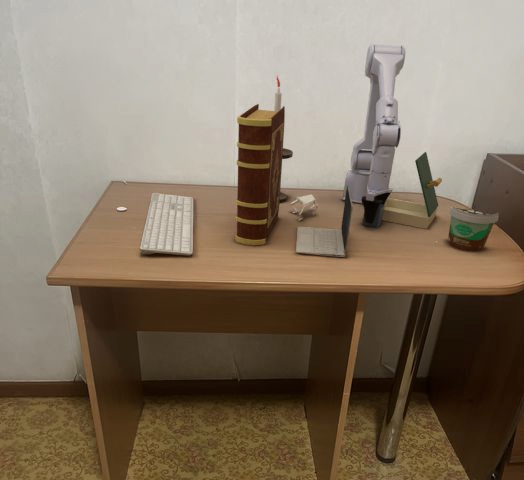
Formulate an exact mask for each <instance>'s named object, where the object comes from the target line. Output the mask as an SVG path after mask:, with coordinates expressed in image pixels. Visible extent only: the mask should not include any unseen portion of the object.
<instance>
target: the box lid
mask: <svg viewBox="0 0 524 480" xmlns="http://www.w3.org/2000/svg"><path fill="white" fill-rule="evenodd" d="M428 157H429V156H428V154H427V151H424V152H423V153H422V154H421V155H420V156H419V157H417V158H416V159H415V161H414V162H415V167H416V171H417V174H418V179H419V183H420V187H421V192H422V196H423V200H424V201H423V202H424V204H425V205H426V209H427V213H428V217H430V216H431V215H432V214H433V212H434V211H435V209H436V208H437V209H438V208H439V201H438V198H437V193H436V189H435V188H438V187H439V186H440V184H441V183H442V182H443V179H442V178H441V177H438V178H437V179H435V180H433V176H432V171H431V167H430V161H429V158H428Z"/></svg>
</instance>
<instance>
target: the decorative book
mask: <svg viewBox="0 0 524 480" xmlns="http://www.w3.org/2000/svg"><path fill="white" fill-rule="evenodd" d="M259 105H260V104H259V103H257V104H255V105H253V106H252V107H250V108H248V109H247V110H246V111H245V112H243V113H242V114H240V115H238V116H237V117H236V122H237V124H238V137H237V138H238V139H237V142H236V147H237V160H236V165H237V193H236V194H237V197H236V199H235V205H236V216H235V221H236V234H235V236H234V238H235V239H234V240H235V242H237V243H239V244H242V245H247V246H263V245H265V244H266V242H267V240H268V238H269V237H270V235H271V233H272V231H273V229H274V228H275V226H276V224H277V221H278V218H279V214H280V213H279V212H280V203H281V202H280V192H281V186H282V185H281V184H282V170H283V169H282V168H283V159H282V155H283V148H284V139H285V136H284V135H285V119H286V118H285V117H286V116H285V115H286V113H285V112H286V109H285V108H286V107H285V105H283V106H281V110H279V111H274V110H267V109H266V110H265V109H260V108H259V107H260V106H259Z"/></svg>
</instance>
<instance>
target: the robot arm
mask: <svg viewBox="0 0 524 480" xmlns="http://www.w3.org/2000/svg"><path fill="white" fill-rule="evenodd" d="M405 60H406V48H405V46H404V45H390V44H389V45H388V44H387V45H386V44H374V43H371V44H370V45H368V47H367V52H366V58H365V65H364V76H365V77H367V78H368V79H369V83H370V86H369V87H370V88H369V94H368V101H367V109H366V117H365V125H364V132H363V138H361V139H360V140H358V141H356V142H355V144H354V145H353V146H352V152H351V156H350V169H349V170H348V171H347V173H346V175H345V179H344V186H343V194H342V198H341V200H342V201H345V197H346V189H347V185H348V187H349V192H350V197H351V202H352V203H357V204H362V207H363V213H364V212H365V222H366V223H371V224H372V223H373V222H374V219H375V216H376V213H377V210H378V208H379V206H380V204H385V202H386V200H387V198H390V196H391V194H392V192H393V188H391V187H390V181H391V175H392V171H393V164H394V159H395V153H396V148H398V147H399V145H400V141H401V135H402V127H401V123H400V120H399V102H398V100H397V98H395V89H396V87H395V86H396V77H397V76H398V75H400V73H401V71H402V69H403V68H404V64H405Z"/></svg>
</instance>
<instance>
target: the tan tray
mask: <svg viewBox="0 0 524 480" xmlns="http://www.w3.org/2000/svg"><path fill="white" fill-rule="evenodd" d="M384 205H385V206H384V212H383V218H382V221H384V222H390V223H395V224H399V225H404V226H410V227H415V228H420V229H425V230H427V229H428V228H429V226H430V225H431V224H432V222H433V221H434V219H435V218H436V214H437V210H438V207H437V208H436V209H435V211H434V212H433V214H432V215H431V216H430V217H428V213H427V209H426V205H425V203H419V202H414V201H408V200H403V199H398V198H391V197H388V198H387V200H386V202H385V204H384Z"/></svg>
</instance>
